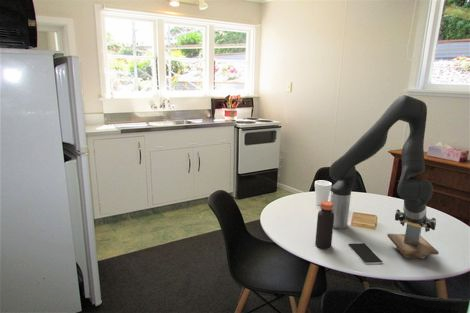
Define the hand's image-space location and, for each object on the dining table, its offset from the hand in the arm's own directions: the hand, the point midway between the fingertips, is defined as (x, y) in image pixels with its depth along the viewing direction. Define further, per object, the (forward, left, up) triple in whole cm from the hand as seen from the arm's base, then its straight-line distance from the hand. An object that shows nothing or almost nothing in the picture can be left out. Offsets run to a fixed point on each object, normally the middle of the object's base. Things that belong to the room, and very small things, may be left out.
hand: (414, 226), depth 129 cm
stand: (-1, -1, -11) cm, 12 cm away
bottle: (-37, +2, -12) cm, 39 cm away
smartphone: (-21, -3, -12) cm, 24 cm away
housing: (-1, -1, -7) cm, 7 cm away
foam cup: (-27, +50, -12) cm, 58 cm away
